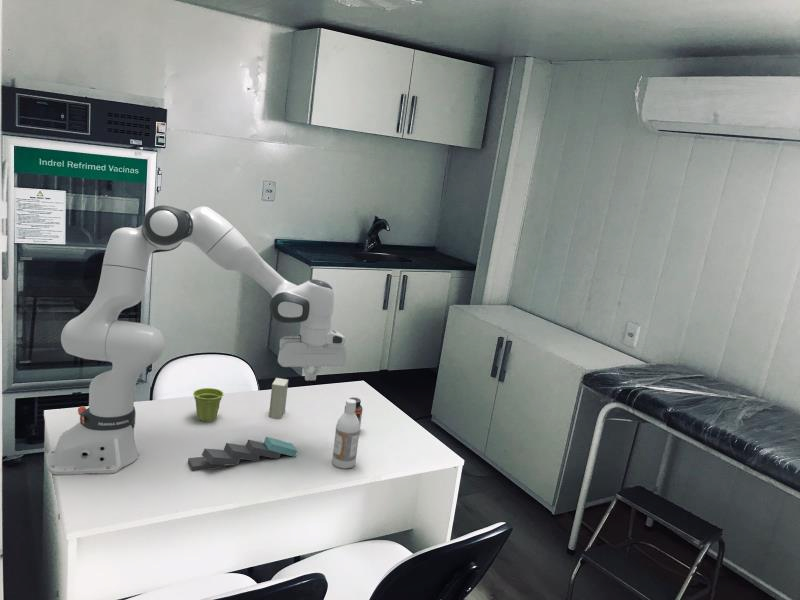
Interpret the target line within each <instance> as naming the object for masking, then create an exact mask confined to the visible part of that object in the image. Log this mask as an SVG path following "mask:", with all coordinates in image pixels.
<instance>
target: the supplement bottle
mask: <svg viewBox="0 0 800 600" xmlns="http://www.w3.org/2000/svg"><path fill="white" fill-rule="evenodd" d="M348 399H353V400H355V401H356V408H355V414H356V416H357V418H358V420H359V423H360V425H361V424H362V423H361V422H362V417H363V416H362V415H363V406H362V404H361V402H362V400H361V399H360V398H359V397H354V396H353V397H348ZM345 407H346V404H345V406H344V408H345ZM344 412H345V409H344V411H343V413H344Z"/></svg>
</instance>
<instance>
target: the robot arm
mask: <svg viewBox="0 0 800 600" xmlns="http://www.w3.org/2000/svg"><path fill="white" fill-rule="evenodd" d="M183 242H185V243H186V242H188V243H191V244H193V245H195V246H196V247H198V249H199V250H201V252H202V253H203V254H205V255H206V257H208V259H209V260H211V261H212V262H213V263H215V264H216V265H218V266H219V267H221V268H222V269H224V270H225V271H231V272H232V271H235V272H239V273H243V274H246V275H247V276H249V277H250V278H251V279H253V280H254V281H255V282H256V283H258V285H260V286H261V287H262V288H263V289H264V290H265V291H266V292H268V294H269V295H270V296H271V300H270V303H269V312H270V314H271V316H272V318H274V319H275V320H276V321H277V322H279V323H283V324H293V323H294V324H296V323H300V331H299V334H292V335H291V334H286V335H284V336H282V337H281V338H280V339H279V342H278V343H279V345H278V347H279V350H278V351H279V352H278V356H277V363H278V364H279V365H280V367H282V368H302V370H303V372H304V380H305V381H307V382H308V381H316V379H317V375H318V374H319V372H320V371H321V370H322V367H344V365H345V364H346V362H347V348H346V347H347V346H346V345H345V343H346V337H345V336H344V335H343V334H342V333H340V332H339V331H338V330H334V329H332V322H331V320H332V315H333V313H334V306H335V294H334V289H333V286H331V285H330V284H329V283H328V282H326V281H323V280H319V279H314V278H313V279H312V278H311V279H309V280H307V281H305V282H303V283H301V284H299V283H297V282H295V281H292V280H290V279H287V278H286V277H284V276H283V275H281V274H280V273H279V272H278V271H277V270H276V269H275V268H273V267H272V266H271V264H269V263H268V262H266V260H265V259H264V258H262V257H261V256H260V254H259V253H258V252H257V251H256V250H255V249H254V248H253V247H252V245H251V244H250V242H248V240H247V239H246V238H245V237H244V236H243V234H242V233H241V232H240V231H239V230H238V229H237V228H236V227H235V226H233V225H232V223H231V222H229V221H228V220H227V219H226V218H225V217H224V216H222V215H221V214H219V213H218V212H216V211H215V210H214V209H212V208H210V207H208V206H198V207H196V208H193V209H192V210H190V212H188V211H187V210H184V209H180V208H176V207H173V206H170V205H163V204H162V205H156V206H154V207H152V208H151V209H149V210H148V211H147V212H146V214H144V217H143V218H142V224H141V225H140V226H139V227H134V228H133V227H128V226H127V227H125V226H124V227H120V228H117V229H115V230H114V231H113V232H112V233H111V235H110V237H109V240H108V241H107V245H106V249H105V252H104V256H103V262H102V265H101V273H100V277H99V278H100V279H99V282H98V286H97V291H96V293H95V295H94V298H93V300H92V301H91V303H90V304H89V306H88V307H87V308H86V309H85V310H84V311H83V312H82V313H80V314H78V316H76V317H73V318H72V319H71V320H69V321H67V323H66V324H65V325H64V327H63V329H62V331H61V335H60V343H61V347H62V348H63V350H64V352H65V353H66V354H69V355H72V356H75V357H77V358H81V359H84V360H94V361H101V362H109V363H111V364H112V368H111V370H108V371H104V372H102V373H100V374H98V375H95V377H94V378H93V379H92V380H91V382H90V384H89V386H88V388H89V389H88V390H89V393H88V396H89V397H88V408H87V407H85V406H84V405H82V406H79V407H78V408H77V414H78V415H79V422H78V423H77V424H75V425H74V426H72V427H71V428H69V429H68V430H66V431H64V432H62V433H61V434H60V436H59V438H58V441H57V443H56V446H55V447H53V448H52V449H51V450H49V451H48V453H47V455H46V460H45V467H46V469H47V471H48V473H50V474H52V475H86V473H98V474H114V473H117V472H119V471H120V470H121V469H122V468H123V467H127V466H128V465H130V464H132V463H133V462H135V461H136V460H137V459H138V456H139V451H138V449H137V445H136V440H135V432H134V431H135V430H134V429H135V425H136V417H137V415H136V408H135V406H134V405H135V395H136V393H135V392H136V387H137V382H138V380H139V377H140V375H141V374H142V373H143V371H145V369H147V368H148V367H149V366H150V365H153V364H155V363H156V362H157V361H158V360H159V359H160V358H161V356H162V355H163V353H164V350H165V345H166V342H165V337H164V334H163V332H162V330H160V329H159V328H157V327H155V326H152V325H149V324H146V323H142V322H134V321H125V320H118V318H119V316H120V314H121V312H122V311H124V310H126V309H129V308H132V307H134V306H136V305H138V304H139V303H141V301H142V300H143V298H144V295H145V289H146V281H147V274H148V267H149V261H150V259H151V258H150V257H151V255H152V254H155V253H156V254H157V253H162V252H163V253H164V252H165V253H166V252H169V251H173V250H175V249H177V248H179V247H180V245H182V243H183ZM311 367H313V368H314V370H313V371H312V372H311V373H309V372H308V370H310V368H311ZM84 473H85V474H84Z"/></svg>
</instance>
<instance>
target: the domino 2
mask: <svg viewBox="0 0 800 600" xmlns="http://www.w3.org/2000/svg"><path fill="white" fill-rule="evenodd" d="M202 456H203V457H204V458H205V459H206V460H207V461H208V462H209V463H210V464H220V465H225V466H238V464H239V463H240V460H241V459H239V458H231V457H230V456H229V455H228V454H227V452H226V451H225V450H224V449H217V448H215V449H214V448H204V449H203V451H202V454H201V457H202Z"/></svg>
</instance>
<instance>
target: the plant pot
mask: <svg viewBox="0 0 800 600" xmlns="http://www.w3.org/2000/svg"><path fill="white" fill-rule="evenodd" d="M192 395H193V398H194V400H195V408H196V410H195V411H196V419H197V420H198V421H202V422H208V423H209V422H213V421H215V420H217V417H218V414H219V409H220V404H221V400H222V397H223V396H224V392H223V390H220V389H217V388H213V387H203V388H198V389H195V390H194V391H193V393H192Z"/></svg>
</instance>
